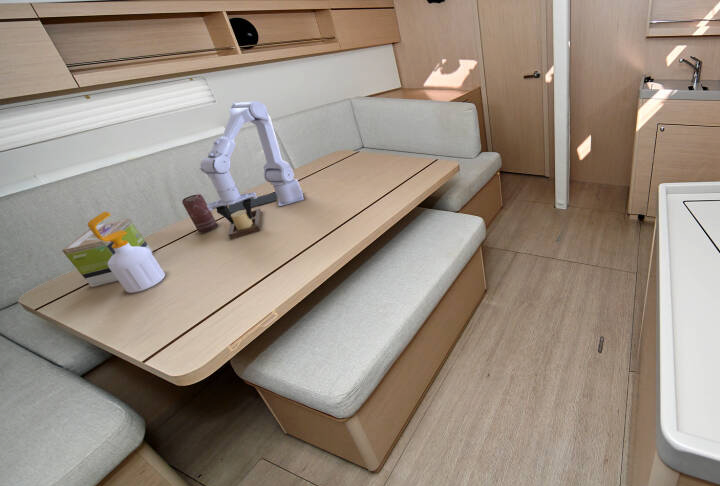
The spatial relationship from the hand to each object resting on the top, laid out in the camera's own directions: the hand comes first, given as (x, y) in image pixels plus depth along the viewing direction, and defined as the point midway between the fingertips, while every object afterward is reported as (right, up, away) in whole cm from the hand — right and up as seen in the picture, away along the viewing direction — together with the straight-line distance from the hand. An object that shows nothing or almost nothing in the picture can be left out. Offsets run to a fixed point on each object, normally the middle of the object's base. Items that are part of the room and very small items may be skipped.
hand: (242, 220), depth 132 cm
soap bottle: (-11, -17, -23) cm, 31 cm away
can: (-16, -4, +5) cm, 18 cm away
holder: (-2, -2, +5) cm, 6 cm away
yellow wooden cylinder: (0, -3, +1) cm, 3 cm away
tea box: (-27, -15, -16) cm, 34 cm away
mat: (-13, +5, +23) cm, 26 cm away
